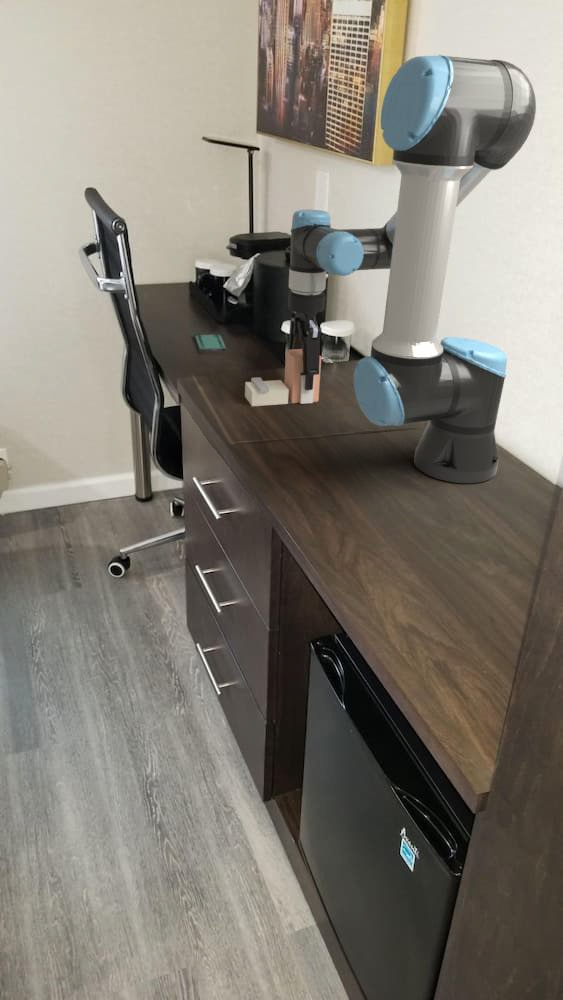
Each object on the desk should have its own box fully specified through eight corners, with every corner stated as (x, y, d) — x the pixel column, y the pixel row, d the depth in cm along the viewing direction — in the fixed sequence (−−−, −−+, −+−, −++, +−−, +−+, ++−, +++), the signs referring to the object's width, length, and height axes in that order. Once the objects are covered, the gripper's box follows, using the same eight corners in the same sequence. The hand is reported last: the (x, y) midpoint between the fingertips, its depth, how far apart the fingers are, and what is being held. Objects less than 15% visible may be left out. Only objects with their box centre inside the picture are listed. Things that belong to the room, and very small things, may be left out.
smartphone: (199, 350, 192) (193, 333, 205) (199, 355, 193) (194, 337, 206) (228, 350, 194) (220, 332, 207) (228, 354, 194) (220, 337, 207)
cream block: (291, 407, 162) (292, 387, 160) (252, 410, 160) (253, 389, 158) (281, 396, 168) (282, 375, 166) (244, 398, 166) (244, 378, 164)
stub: (318, 401, 164) (321, 356, 159) (292, 403, 162) (294, 358, 158) (309, 391, 169) (312, 348, 164) (283, 393, 167) (285, 349, 163)
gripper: (341, 302, 147) (332, 412, 158) (309, 279, 164) (303, 380, 175) (304, 303, 145) (298, 414, 156) (276, 280, 162) (272, 382, 173)
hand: (301, 396), depth 166 cm, fingers open, 7 cm apart
